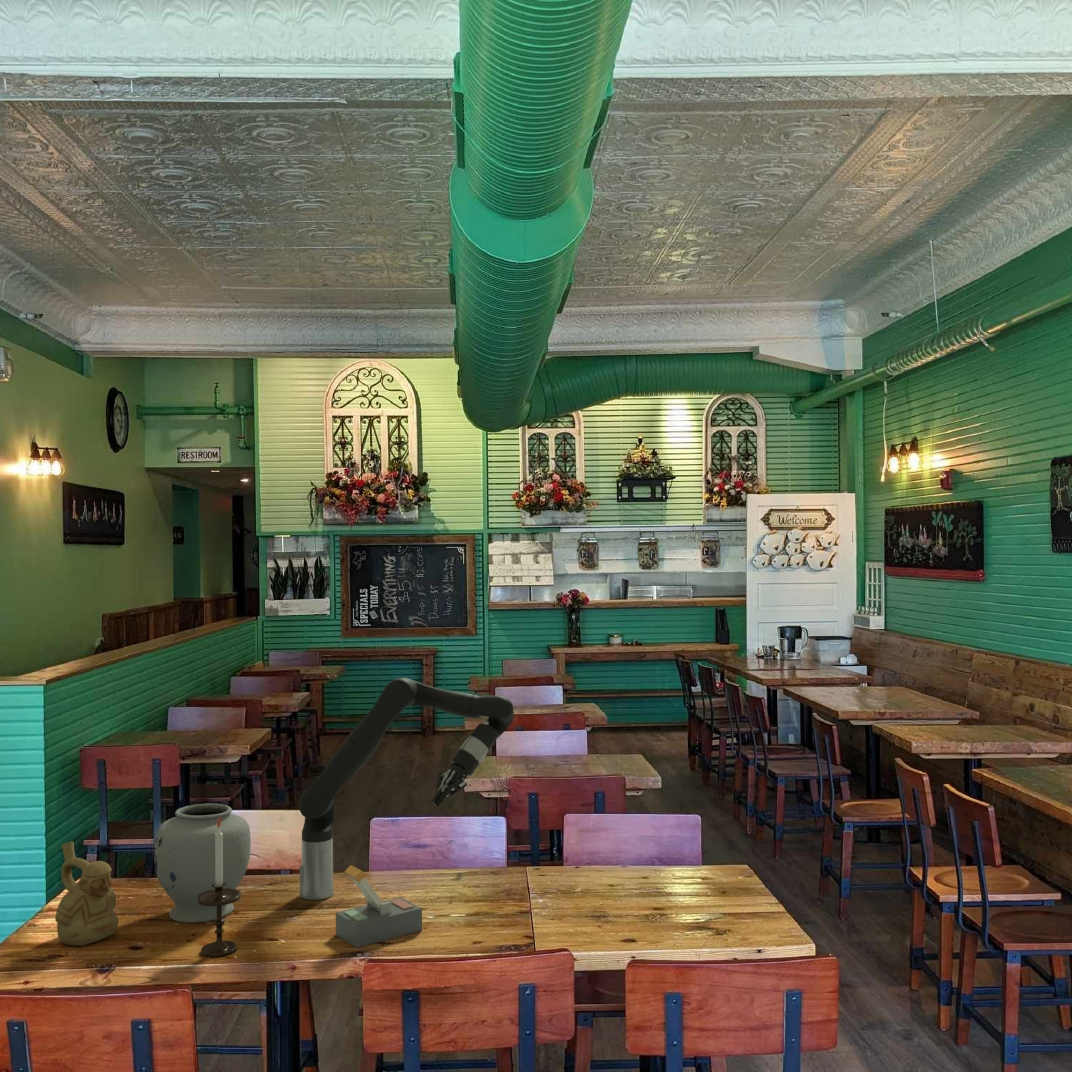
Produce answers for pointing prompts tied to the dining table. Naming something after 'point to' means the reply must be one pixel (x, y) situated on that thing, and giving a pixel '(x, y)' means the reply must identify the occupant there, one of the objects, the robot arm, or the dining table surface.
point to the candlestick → (219, 903)
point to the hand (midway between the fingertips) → (434, 804)
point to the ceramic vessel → (85, 901)
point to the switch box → (378, 922)
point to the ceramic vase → (199, 857)
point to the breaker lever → (364, 886)
